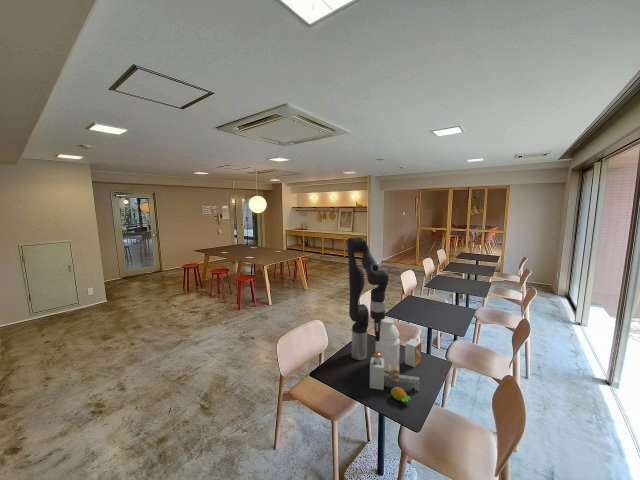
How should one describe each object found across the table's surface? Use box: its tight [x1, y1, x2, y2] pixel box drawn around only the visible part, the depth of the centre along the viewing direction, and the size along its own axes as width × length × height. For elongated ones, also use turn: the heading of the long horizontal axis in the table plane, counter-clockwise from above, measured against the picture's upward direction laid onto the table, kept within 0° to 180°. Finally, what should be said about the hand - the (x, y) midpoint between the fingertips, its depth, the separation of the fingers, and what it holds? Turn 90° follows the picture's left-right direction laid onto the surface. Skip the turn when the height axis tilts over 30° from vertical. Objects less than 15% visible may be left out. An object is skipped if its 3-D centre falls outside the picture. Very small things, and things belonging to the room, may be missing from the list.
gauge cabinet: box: [369, 356, 385, 391], centre depth 142 cm, size 7×9×12 cm
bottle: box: [374, 317, 401, 373], centre depth 157 cm, size 14×14×28 cm
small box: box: [404, 338, 423, 368], centre depth 159 cm, size 8×6×13 cm
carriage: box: [388, 364, 400, 383], centre depth 139 cm, size 5×5×6 cm
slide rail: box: [384, 372, 420, 392], centre depth 139 cm, size 18×2×6 cm, turn 75°
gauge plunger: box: [373, 351, 381, 365], centre depth 141 cm, size 4×4×9 cm
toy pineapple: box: [390, 386, 412, 403], centre depth 129 cm, size 7×10×5 cm
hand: (377, 340), depth 139 cm, fingers closed
